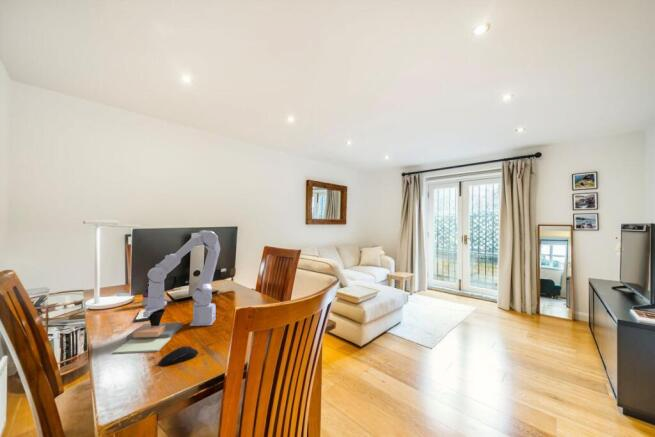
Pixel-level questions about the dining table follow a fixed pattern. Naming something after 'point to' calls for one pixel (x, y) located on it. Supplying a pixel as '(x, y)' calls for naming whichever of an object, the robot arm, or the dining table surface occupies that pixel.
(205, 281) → the robot arm
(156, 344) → the mat
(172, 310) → the dining table surface
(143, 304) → the energy drink
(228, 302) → the dining table surface
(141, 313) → the smartphone
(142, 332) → the tile
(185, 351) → the gaming mouse
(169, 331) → the riser
